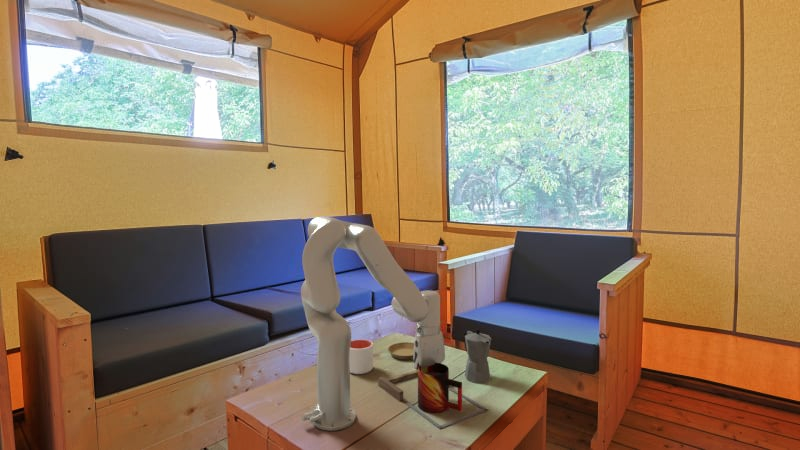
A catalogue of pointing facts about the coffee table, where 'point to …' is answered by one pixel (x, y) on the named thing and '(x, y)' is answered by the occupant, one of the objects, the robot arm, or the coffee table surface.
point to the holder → (391, 388)
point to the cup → (361, 356)
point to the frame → (453, 420)
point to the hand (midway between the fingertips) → (428, 383)
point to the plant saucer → (402, 350)
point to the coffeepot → (477, 356)
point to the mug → (436, 389)
